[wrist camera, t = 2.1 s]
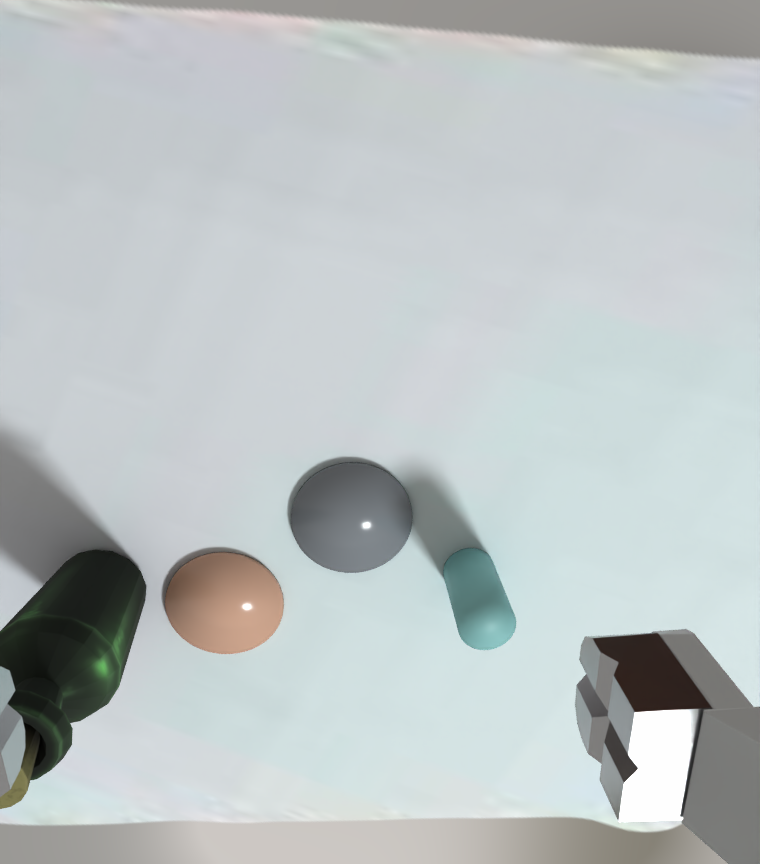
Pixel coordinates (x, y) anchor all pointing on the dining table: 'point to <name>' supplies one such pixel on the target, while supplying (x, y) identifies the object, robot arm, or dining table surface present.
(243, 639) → the tan round disc
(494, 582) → the marker peg
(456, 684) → the dining table surface
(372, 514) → the grey flat disc
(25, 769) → the potion bottle
